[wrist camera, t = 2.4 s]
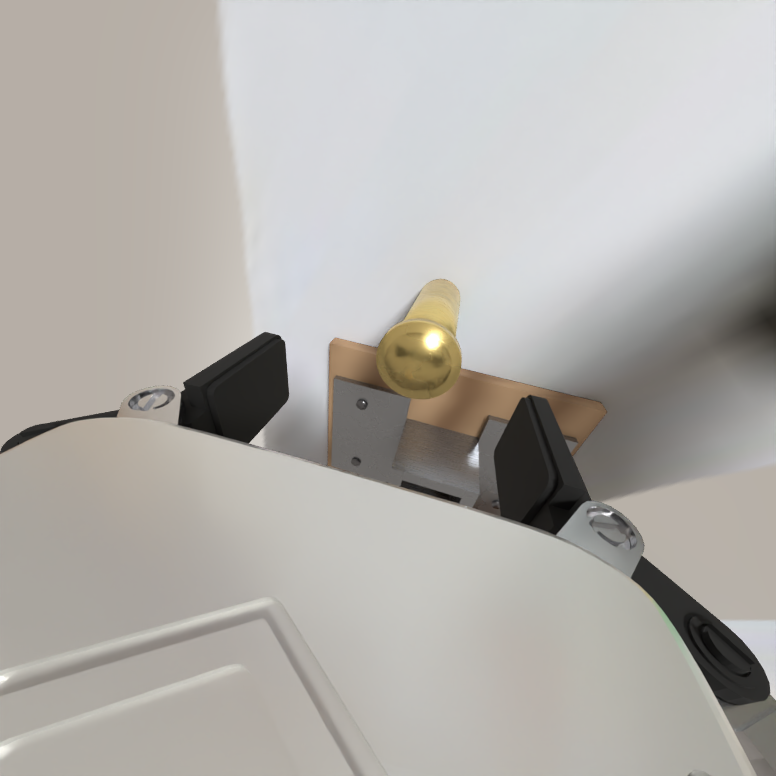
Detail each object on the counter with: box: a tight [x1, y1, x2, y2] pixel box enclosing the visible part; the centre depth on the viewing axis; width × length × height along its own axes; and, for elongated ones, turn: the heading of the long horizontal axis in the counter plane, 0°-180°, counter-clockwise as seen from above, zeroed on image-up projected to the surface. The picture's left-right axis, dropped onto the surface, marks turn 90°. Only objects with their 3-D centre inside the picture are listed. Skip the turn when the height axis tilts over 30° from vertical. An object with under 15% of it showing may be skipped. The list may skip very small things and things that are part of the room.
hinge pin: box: [376, 279, 462, 399], centre depth 16 cm, size 4×4×10 cm
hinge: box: [331, 375, 578, 516], centre depth 25 cm, size 21×12×6 cm, turn 81°
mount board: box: [328, 338, 607, 478], centre depth 28 cm, size 22×18×1 cm
